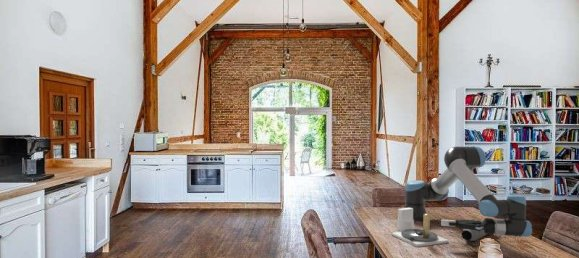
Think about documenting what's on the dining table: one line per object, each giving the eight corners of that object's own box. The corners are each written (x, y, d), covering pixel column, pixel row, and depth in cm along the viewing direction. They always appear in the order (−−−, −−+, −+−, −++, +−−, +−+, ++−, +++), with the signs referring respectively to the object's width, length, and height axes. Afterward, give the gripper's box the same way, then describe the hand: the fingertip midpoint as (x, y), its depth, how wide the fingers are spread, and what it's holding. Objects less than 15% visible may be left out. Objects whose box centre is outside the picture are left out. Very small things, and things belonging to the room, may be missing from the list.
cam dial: (395, 231, 201) (395, 207, 201) (426, 230, 204) (426, 206, 204) (411, 242, 183) (412, 215, 183) (444, 240, 186) (445, 214, 186)
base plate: (391, 235, 199) (391, 229, 199) (421, 231, 207) (421, 225, 207) (416, 246, 181) (416, 240, 181) (448, 242, 188) (448, 236, 188)
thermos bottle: (476, 220, 210) (455, 229, 191) (490, 216, 205) (469, 225, 186) (483, 234, 207) (462, 245, 189) (497, 230, 202) (477, 241, 183)
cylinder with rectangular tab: (405, 232, 204) (405, 211, 204) (393, 228, 212) (394, 207, 212) (417, 230, 208) (417, 209, 208) (405, 226, 216) (405, 206, 216)
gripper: (497, 238, 172) (442, 233, 178) (490, 230, 184) (439, 226, 191) (497, 222, 172) (443, 218, 178) (490, 215, 184) (439, 212, 191)
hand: (441, 222), depth 184 cm, fingers closed
